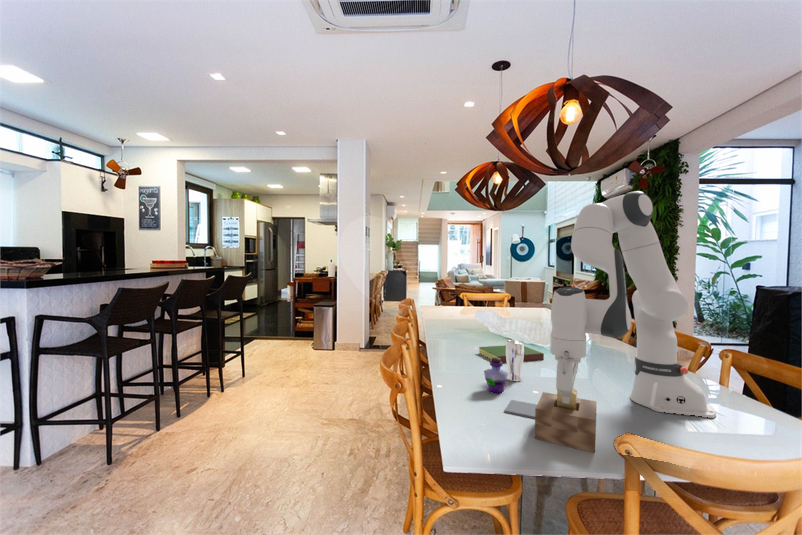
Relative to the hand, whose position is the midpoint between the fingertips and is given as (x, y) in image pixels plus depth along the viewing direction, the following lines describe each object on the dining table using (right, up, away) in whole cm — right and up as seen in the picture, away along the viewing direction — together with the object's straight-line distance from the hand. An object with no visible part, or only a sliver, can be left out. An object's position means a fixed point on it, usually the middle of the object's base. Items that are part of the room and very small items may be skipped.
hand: (566, 398), depth 99 cm
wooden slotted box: (0, -10, 0) cm, 10 cm away
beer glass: (0, -9, +46) cm, 47 cm away
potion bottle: (-11, -9, +32) cm, 35 cm away
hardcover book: (+9, -9, +81) cm, 82 cm away
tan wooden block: (0, -6, 0) cm, 6 cm away
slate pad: (-6, -9, +16) cm, 20 cm away
